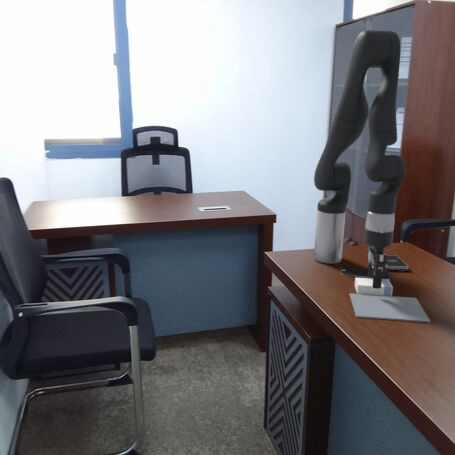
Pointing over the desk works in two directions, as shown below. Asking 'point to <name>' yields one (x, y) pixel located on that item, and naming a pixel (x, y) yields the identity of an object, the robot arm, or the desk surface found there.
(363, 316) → the mat
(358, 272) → the smartphone
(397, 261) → the external hard drive
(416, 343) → the desk surface
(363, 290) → the card box
